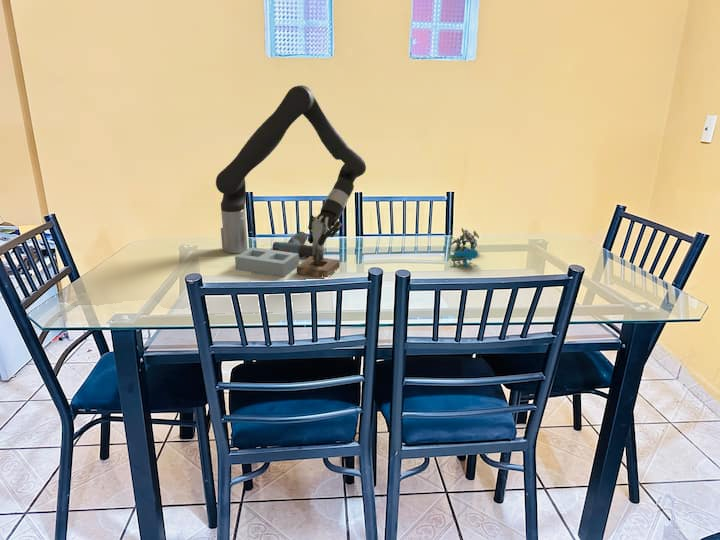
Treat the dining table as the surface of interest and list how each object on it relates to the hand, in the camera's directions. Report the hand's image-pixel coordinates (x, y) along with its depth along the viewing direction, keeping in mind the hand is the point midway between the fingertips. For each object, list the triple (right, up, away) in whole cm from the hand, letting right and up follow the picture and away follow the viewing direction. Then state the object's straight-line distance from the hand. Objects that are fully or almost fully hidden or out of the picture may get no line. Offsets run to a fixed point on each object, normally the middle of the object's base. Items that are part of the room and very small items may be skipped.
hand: (314, 243), depth 176 cm
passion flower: (+60, -2, +31) cm, 68 cm away
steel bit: (+1, -6, +4) cm, 7 cm away
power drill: (-8, -2, +28) cm, 30 cm away
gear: (+56, -8, +15) cm, 59 cm away
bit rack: (-18, -9, +8) cm, 22 cm away
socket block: (+1, -10, +5) cm, 11 cm away
